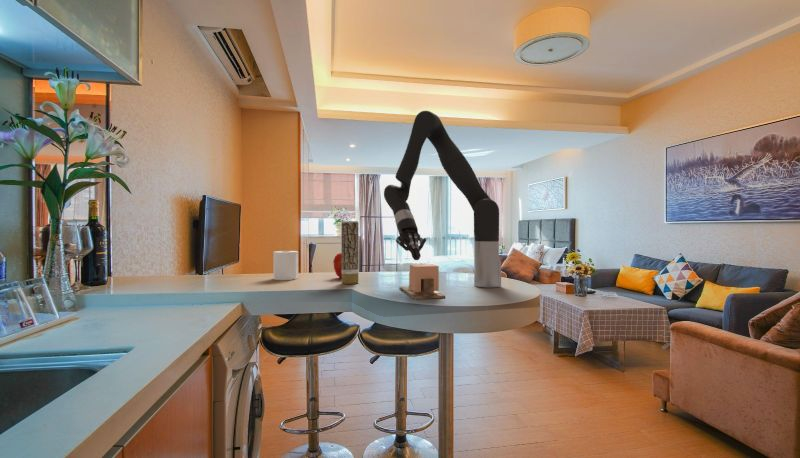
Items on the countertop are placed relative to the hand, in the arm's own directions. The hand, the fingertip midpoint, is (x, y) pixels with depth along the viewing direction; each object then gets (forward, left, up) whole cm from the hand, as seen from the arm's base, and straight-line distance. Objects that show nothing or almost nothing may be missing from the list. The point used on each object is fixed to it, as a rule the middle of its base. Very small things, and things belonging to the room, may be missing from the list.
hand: (417, 258), depth 129 cm
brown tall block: (+23, -19, -11) cm, 32 cm away
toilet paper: (+49, -39, -11) cm, 63 cm away
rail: (+2, +9, -11) cm, 14 cm away
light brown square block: (+2, +14, -9) cm, 17 cm away
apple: (+24, -35, -11) cm, 44 cm away
